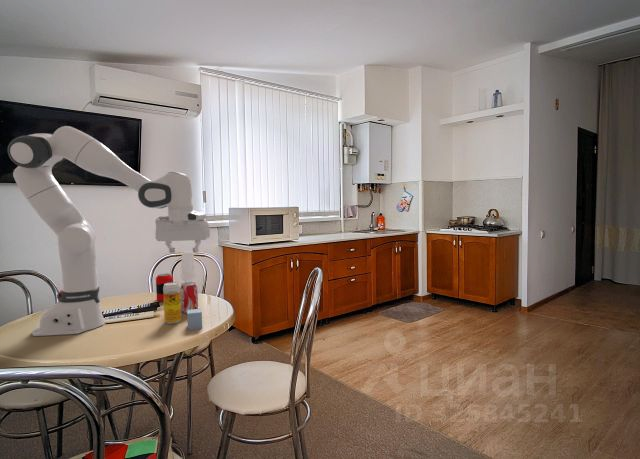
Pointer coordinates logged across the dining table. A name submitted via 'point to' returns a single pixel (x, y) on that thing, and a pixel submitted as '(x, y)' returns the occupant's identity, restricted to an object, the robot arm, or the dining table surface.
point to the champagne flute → (188, 267)
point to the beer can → (172, 302)
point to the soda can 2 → (189, 296)
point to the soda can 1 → (162, 285)
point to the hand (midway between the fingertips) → (183, 252)
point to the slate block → (194, 318)
